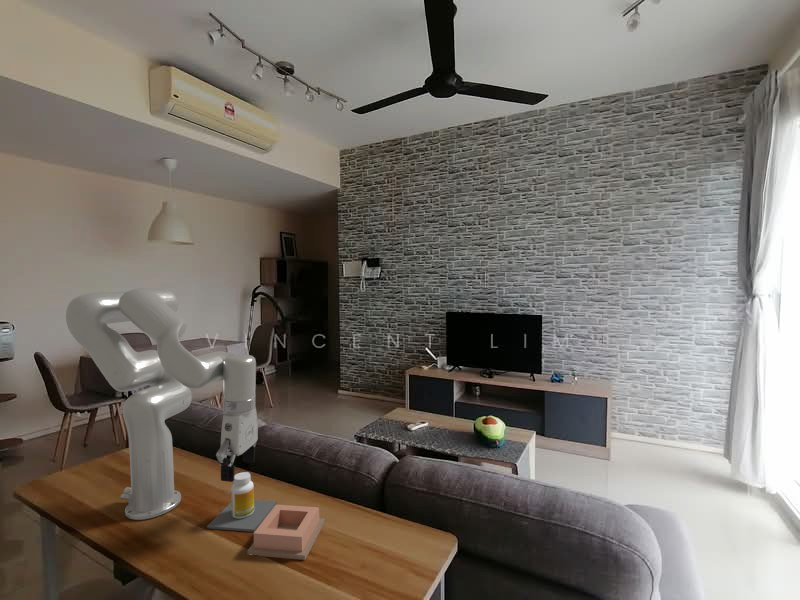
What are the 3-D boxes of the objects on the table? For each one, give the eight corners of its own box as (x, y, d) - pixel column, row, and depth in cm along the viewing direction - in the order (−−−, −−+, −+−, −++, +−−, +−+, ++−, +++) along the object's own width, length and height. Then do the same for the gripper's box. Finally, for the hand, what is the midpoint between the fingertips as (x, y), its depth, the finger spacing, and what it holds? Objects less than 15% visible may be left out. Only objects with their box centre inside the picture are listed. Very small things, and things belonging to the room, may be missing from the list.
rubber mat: (207, 528, 94) (207, 525, 94) (234, 500, 106) (234, 498, 106) (254, 532, 92) (254, 529, 92) (276, 503, 104) (276, 501, 104)
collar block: (247, 555, 84) (246, 535, 84) (274, 518, 97) (274, 501, 97) (304, 560, 83) (304, 540, 83) (324, 522, 96) (324, 505, 95)
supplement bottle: (259, 510, 100) (257, 473, 99) (240, 521, 95) (239, 483, 95) (245, 504, 103) (244, 468, 102) (227, 515, 98) (225, 477, 98)
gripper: (234, 417, 89) (233, 490, 90) (269, 395, 106) (268, 457, 107) (203, 415, 90) (203, 487, 90) (243, 393, 107) (242, 454, 108)
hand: (238, 470), depth 99 cm, fingers open, 9 cm apart
